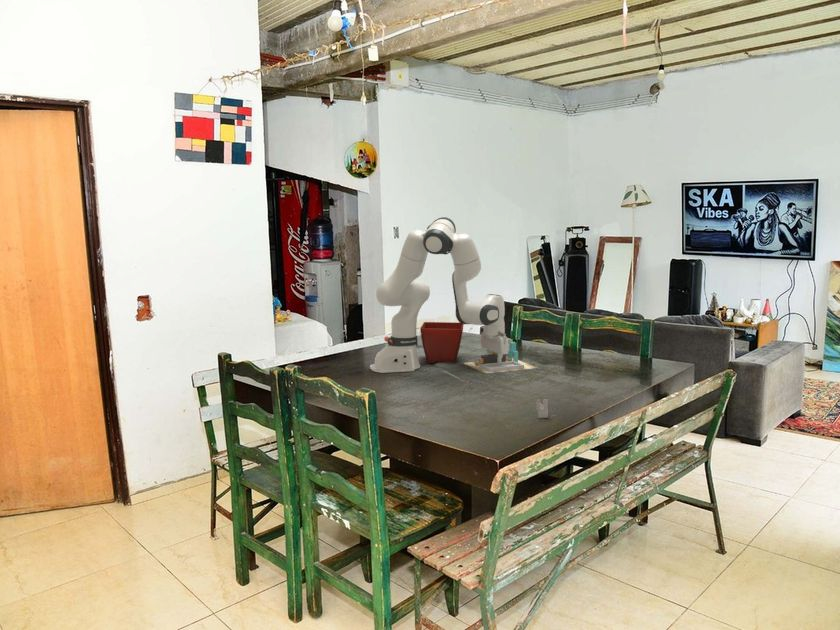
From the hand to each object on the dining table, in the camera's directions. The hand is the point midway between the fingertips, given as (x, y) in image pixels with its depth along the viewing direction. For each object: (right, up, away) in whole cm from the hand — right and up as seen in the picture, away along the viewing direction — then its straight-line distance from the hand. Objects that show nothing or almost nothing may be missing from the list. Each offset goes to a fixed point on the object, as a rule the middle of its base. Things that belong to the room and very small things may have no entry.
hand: (494, 361), depth 300 cm
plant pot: (-23, -1, +14) cm, 27 cm away
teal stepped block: (+9, 0, +5) cm, 10 cm away
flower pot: (+4, 0, +20) cm, 20 cm away
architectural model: (+3, -14, -70) cm, 72 cm away
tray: (+2, -3, -8) cm, 8 cm away
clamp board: (+2, -3, -2) cm, 4 cm away
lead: (0, -1, +1) cm, 2 cm away
